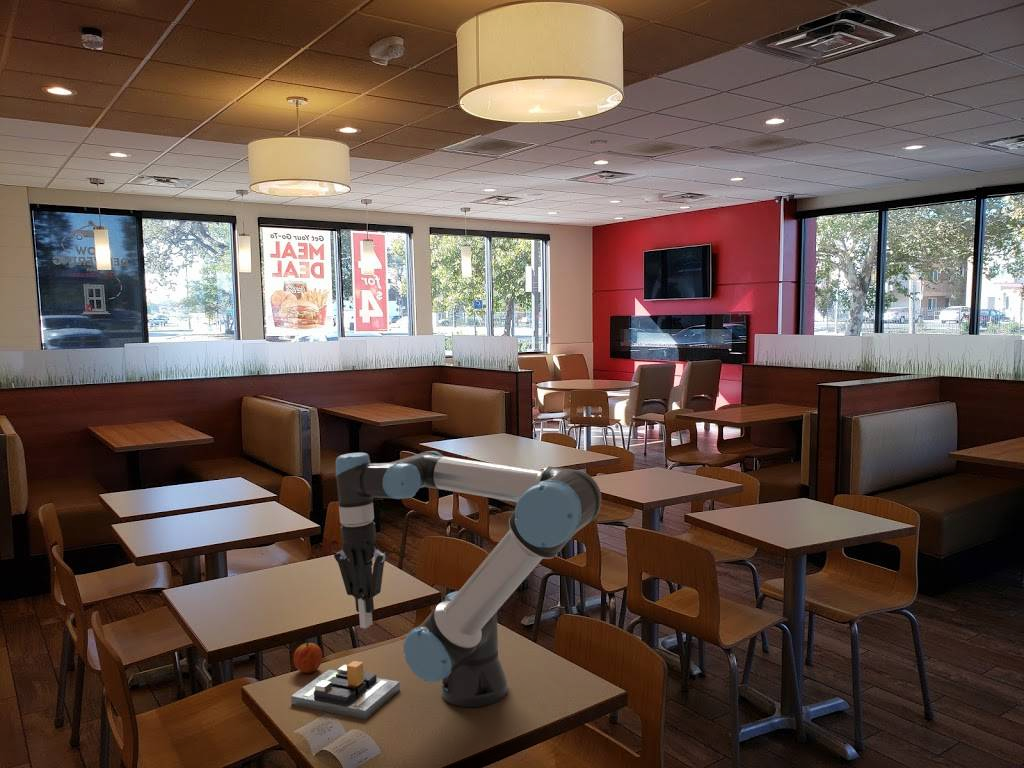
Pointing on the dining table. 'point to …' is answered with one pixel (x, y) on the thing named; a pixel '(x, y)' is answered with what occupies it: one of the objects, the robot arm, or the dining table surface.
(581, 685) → the dining table surface
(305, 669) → the fruit
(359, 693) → the panel
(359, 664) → the block
